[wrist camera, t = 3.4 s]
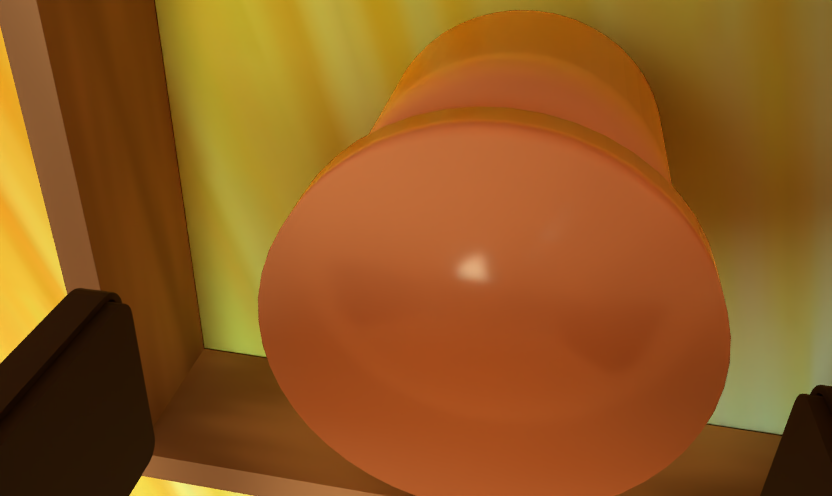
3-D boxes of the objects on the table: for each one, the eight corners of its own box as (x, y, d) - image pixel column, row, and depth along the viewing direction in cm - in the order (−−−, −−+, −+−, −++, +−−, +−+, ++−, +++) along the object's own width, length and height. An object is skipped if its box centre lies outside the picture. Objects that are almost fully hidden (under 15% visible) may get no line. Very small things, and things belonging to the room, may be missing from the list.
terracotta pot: (714, 4, 15) (792, 169, 9) (648, 293, 19) (674, 544, 13) (369, -23, 16) (238, 110, 10) (369, 256, 20) (273, 475, 14)
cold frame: (1171, -272, 12) (1476, -283, 8) (837, 467, 21) (899, 650, 16) (69, -306, 15) (-141, -327, 10) (180, 366, 23) (90, 501, 19)
